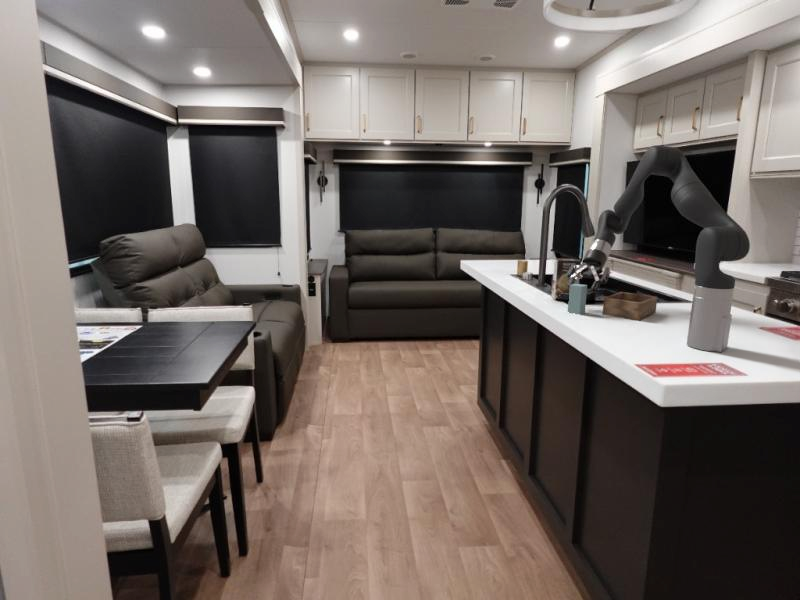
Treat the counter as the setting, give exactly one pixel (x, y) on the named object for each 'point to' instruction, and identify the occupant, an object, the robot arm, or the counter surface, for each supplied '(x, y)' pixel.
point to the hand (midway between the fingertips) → (580, 289)
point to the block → (577, 298)
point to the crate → (629, 306)
